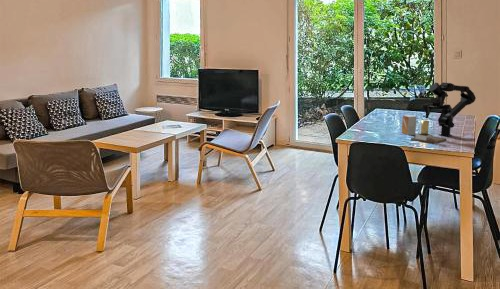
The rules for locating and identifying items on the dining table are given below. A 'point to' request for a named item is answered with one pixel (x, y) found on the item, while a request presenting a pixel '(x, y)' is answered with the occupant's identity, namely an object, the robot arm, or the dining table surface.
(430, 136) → the hinge clip
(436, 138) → the cabinet panel
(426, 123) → the hinge pin
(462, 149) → the dining table surface
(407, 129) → the small box
